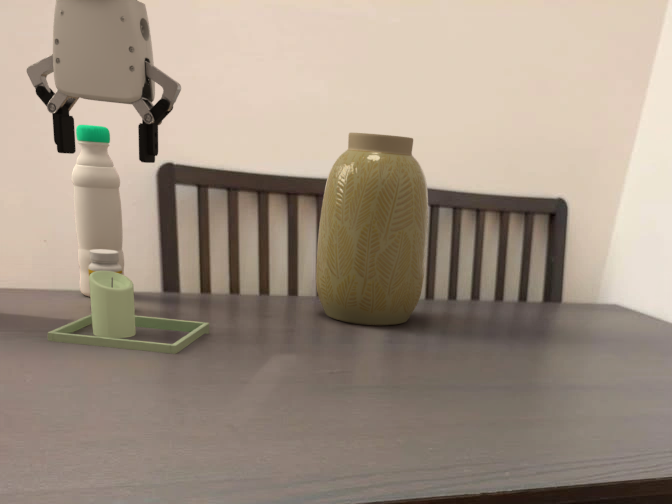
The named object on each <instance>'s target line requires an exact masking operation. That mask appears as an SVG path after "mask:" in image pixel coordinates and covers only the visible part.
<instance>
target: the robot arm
mask: <svg viewBox="0 0 672 504" xmlns="http://www.w3.org/2000/svg"><path fill="white" fill-rule="evenodd" d="M54 6H55V7H54V15H53V26H52V27H53V28H52V29H53V30H52V53H51V54H49V55H48V56H46V57H44V58H42V59H40V60H38V61H36V62H34V63H33V64H30V65H29V66H28V67H26V74H27V76H28V78H29V80H30V82H31V85H32V86H33V88H34V90H35V94H36V96H37V97H38V98H39V99H40V100H41V102H42V103H43V104H44V105H45V106H46V110H47V111H48V113H50V114H52V116H51V117H52V128H53V129H52V131H53V141H54V144H55V145H56V151H57V153H58V154H69V155H71V154H73V155H74V154H75V153H76V150H77V149H76V129H75V118H74V117H73V115H70V111H72V109H73V107H74V106H75V104H76V103H77V101H78V100H79V99H84V100H89V101H96V102H106V103H115V104H125V105H132V106H133V108H134V109H135V110H136V112H137V114H138V115H139V116H140V117H141V118H140V119H142V121H141V122H142V123H141V122H140V123H139V124H138V126H137V128H138V129H137V130H138V160H139V162H141V163H146V164H149V163H150V164H154V163H155V162H156V157H158V155H159V126H160V125H162V124H163V120H164V119H165V118H166V117H167V116H168V115H169V114H170V113H171V112H172V111H173V109H174V106H175V105H174V104H175V103H176V102H177V100H178V97H179V96H180V93H181V91H182V85H181V84H180V83H179V82H178V81H176V80H175V79H173V78H172V77H171V76H169V75H168V74H166V73H165V72H164V71H162V70H161V69H159V68H158V67H157V66H155V64H154V53H153V43H152V35H151V29H150V28H151V27H150V22H149V17H148V11H147V5H146V3H143V2H142V1H139V0H55V5H54ZM51 74H53V79H54V85H55V88H56V91H54V90H52V89H51V87H50V86H49V83H48V81H47V77H48V75H51ZM156 84H157V85H158V86H160V87H161V88H162V93H161V98H160V99H158V100H157V102H156V103H155V104H153V102H154V100H155V97H156Z"/></svg>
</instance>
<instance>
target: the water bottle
mask: <svg viewBox="0 0 672 504" xmlns="http://www.w3.org/2000/svg"><path fill="white" fill-rule="evenodd" d="M75 137H76V140H77V141H78V142H77V144H78V145H79V147H80V152H79V154H78V155H77V158H76V160H75V163H76V164H75V165H74V166H73V169H72V172H71V182H72V185H73V212H74V213H73V214H74V226H75V235H76V241H77V246H78V249H77V262H78V263H77V264H78V268H79V290H80V293H81V294H82V295H83V296H86V297H89V298H90V285H89V272H88V267H89V265H90V264H91V263H92V261H90V250H94V249H105V250H114V251H118V254H119V262H117V263H118V264H119V265H120V266H121V267H122V275H124V276H125V255H124V251H123V212H122V202H121V195H120V187H121V178H120V175H119V173H118V170H117V169H116V167H114V161H113V159H111V157H110V155H109V152H108V148H109V147H110V143H111V133H110V130H109V128H108V127H106V126H101V125H94V124H93V125H91V124H78V125H77V126H76V129H75Z"/></svg>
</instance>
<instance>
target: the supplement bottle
mask: <svg viewBox="0 0 672 504" xmlns="http://www.w3.org/2000/svg"><path fill="white" fill-rule="evenodd" d="M90 261H92V263H91V264H90V265H89V267H88V272H89V276H90V274H91V273H93V272H95V271H112V272H116V273H119V274H122V267H121V266H120V265H119V264H118V263H117V262H119V254H118V251H114V250H105V249H94V250H90ZM89 285H90V283H89Z"/></svg>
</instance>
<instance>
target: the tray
mask: <svg viewBox="0 0 672 504" xmlns="http://www.w3.org/2000/svg"><path fill="white" fill-rule="evenodd" d="M90 325H92V313H90V314H88V315H86V316H85V315H84V316H83V317H81V318H79V319H76V320H74V321H72V322H69V323H67V324H65V325H62V326H59V327H57V328H55V329H52V330H50V331H48V332H47V341H48V342H54V343H55V342H56V343H65V344H74V345H75V344H76V345H83V346H84V345H85V346H95V347H103V348H113V349H115V348H116V349H123V350H124V349H125V350H133V351H143V352H153V353H163V354H173V355H176V354H178V353H180V352H181V351H182V350H183V349H186V348H187V347H188V346H189V345H191V344H192V343H193V342H195V341H196V340H198V339H199V338H201V337H202V336H203V335H210V322H204V321H196V320H195V321H193V320H186V319H185V320H183V319H174V318H164V317H154V316H143V315H135V328H146V329H155V330H164V331H176V332H183V333H185V332H186V335H184V336H182V337H181V338H179V339H178V340H177V341H175V342H174V343H165V342H155V341H145V340H137V339H127V338H108V337H98V336H95V335H86V334H76V333H74V332H77V331H79V330H81V329H84V328H85V327H87V326H90Z"/></svg>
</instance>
